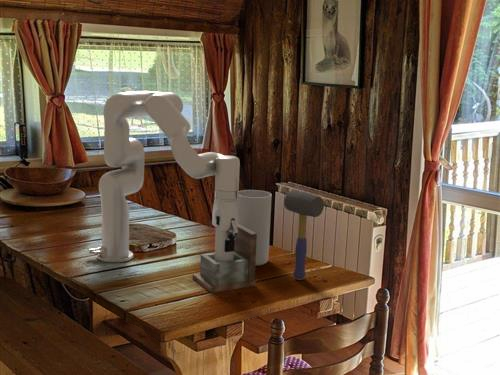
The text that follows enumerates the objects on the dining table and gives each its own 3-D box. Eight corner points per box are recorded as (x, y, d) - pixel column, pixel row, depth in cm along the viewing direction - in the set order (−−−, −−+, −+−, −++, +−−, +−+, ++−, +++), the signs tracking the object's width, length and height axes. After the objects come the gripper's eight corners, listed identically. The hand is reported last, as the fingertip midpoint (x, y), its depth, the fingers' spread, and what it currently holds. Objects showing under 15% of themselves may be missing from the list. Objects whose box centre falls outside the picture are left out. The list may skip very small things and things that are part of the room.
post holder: (210, 292, 205) (212, 238, 202) (192, 278, 217) (194, 227, 214) (255, 285, 213) (257, 234, 209) (235, 272, 225) (237, 223, 221)
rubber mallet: (278, 276, 223) (282, 190, 216) (292, 271, 228) (297, 187, 222) (306, 286, 214) (312, 197, 208) (320, 281, 219) (326, 194, 213)
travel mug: (219, 277, 210) (221, 217, 206) (210, 270, 216) (213, 212, 212) (236, 275, 213) (239, 215, 209) (228, 268, 219) (230, 210, 214)
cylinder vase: (228, 263, 234) (230, 194, 229) (241, 253, 246) (244, 188, 241) (260, 268, 230) (264, 199, 225) (273, 258, 241) (276, 192, 236)
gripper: (204, 189, 215) (202, 242, 218) (228, 201, 200) (226, 257, 204) (225, 188, 218) (223, 240, 222) (249, 199, 203) (247, 254, 207)
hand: (224, 247), depth 213 cm, fingers closed on travel mug, 6 cm apart
